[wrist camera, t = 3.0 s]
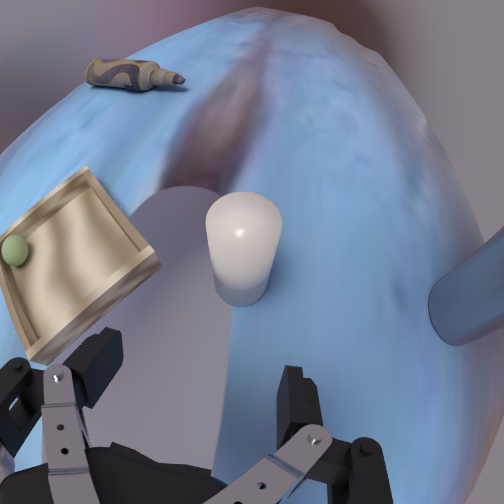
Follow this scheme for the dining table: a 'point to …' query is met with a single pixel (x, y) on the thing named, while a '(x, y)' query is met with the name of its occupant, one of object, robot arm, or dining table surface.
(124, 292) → the tray
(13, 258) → the green ball
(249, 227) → the white dome-topped cylinder
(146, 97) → the dining table surface
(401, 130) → the dining table surface
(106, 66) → the decorative bottle
